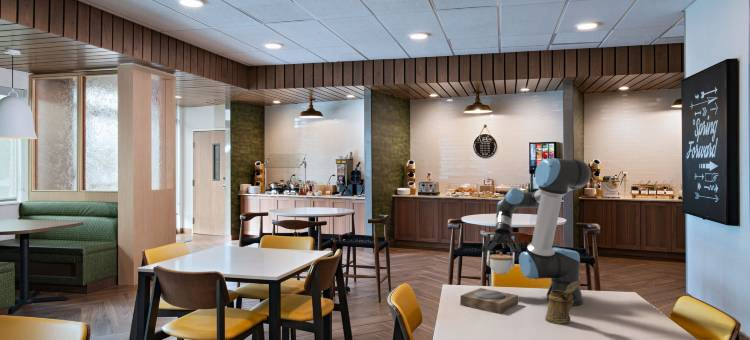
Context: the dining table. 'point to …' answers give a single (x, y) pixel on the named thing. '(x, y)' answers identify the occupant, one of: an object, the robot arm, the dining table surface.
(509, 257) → the lidded jar
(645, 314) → the dining table surface
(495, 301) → the walnut plinth
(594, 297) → the dining table surface
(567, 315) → the wooden mug
